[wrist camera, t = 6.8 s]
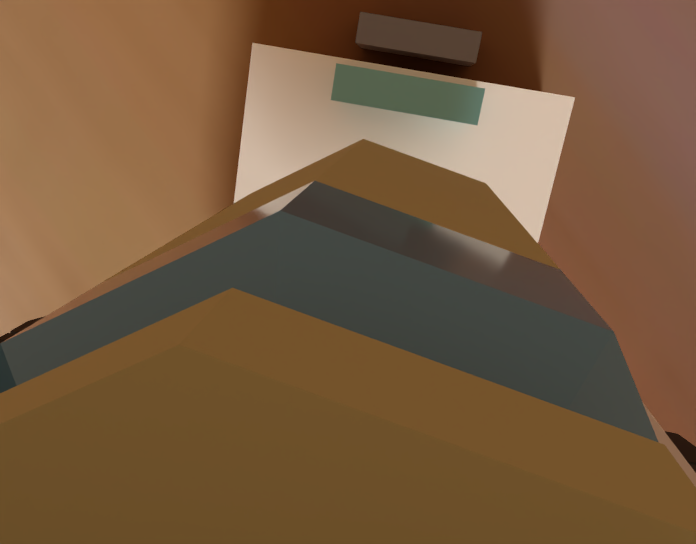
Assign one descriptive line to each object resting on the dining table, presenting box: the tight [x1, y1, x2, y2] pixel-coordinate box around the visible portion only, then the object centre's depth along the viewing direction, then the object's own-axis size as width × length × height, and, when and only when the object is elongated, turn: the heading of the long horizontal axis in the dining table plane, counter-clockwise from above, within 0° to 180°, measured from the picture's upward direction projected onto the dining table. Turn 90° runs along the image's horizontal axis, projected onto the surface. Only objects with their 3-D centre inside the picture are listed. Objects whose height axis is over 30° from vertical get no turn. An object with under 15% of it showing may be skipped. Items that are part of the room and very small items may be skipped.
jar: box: [0, 139, 696, 544], centre depth 12 cm, size 9×9×15 cm
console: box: [234, 12, 575, 243], centre depth 25 cm, size 12×28×8 cm, turn 171°
